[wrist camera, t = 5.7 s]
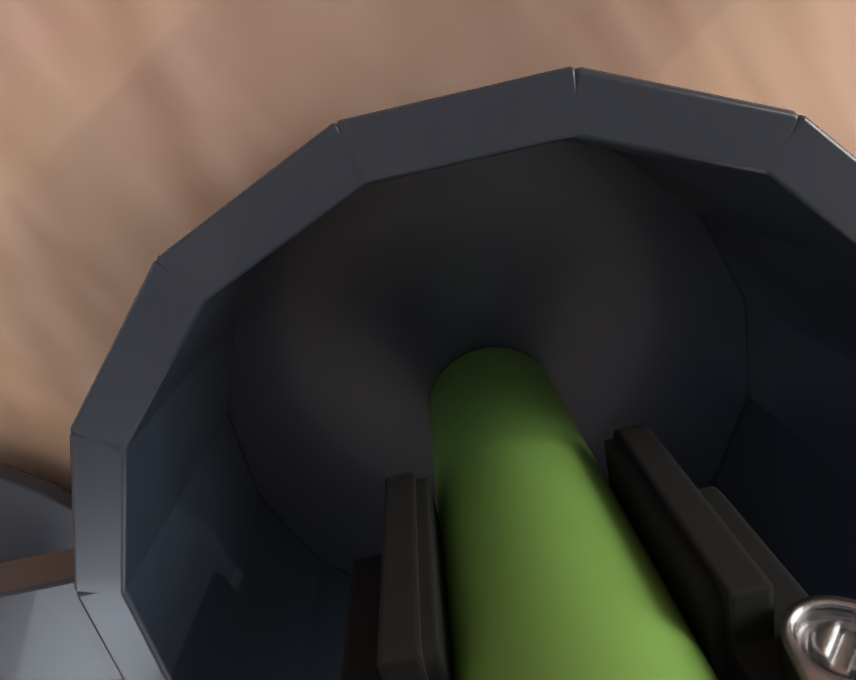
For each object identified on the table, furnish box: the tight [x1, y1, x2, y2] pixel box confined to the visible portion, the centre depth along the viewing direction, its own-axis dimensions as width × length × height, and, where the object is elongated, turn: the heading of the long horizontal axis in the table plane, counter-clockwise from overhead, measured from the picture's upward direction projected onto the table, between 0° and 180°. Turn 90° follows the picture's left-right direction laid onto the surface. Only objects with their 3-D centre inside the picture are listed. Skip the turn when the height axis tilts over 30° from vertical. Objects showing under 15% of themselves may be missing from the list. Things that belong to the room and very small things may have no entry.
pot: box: [0, 67, 856, 680], centre depth 13 cm, size 15×20×6 cm
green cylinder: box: [429, 347, 718, 680], centre depth 11 cm, size 3×3×10 cm
